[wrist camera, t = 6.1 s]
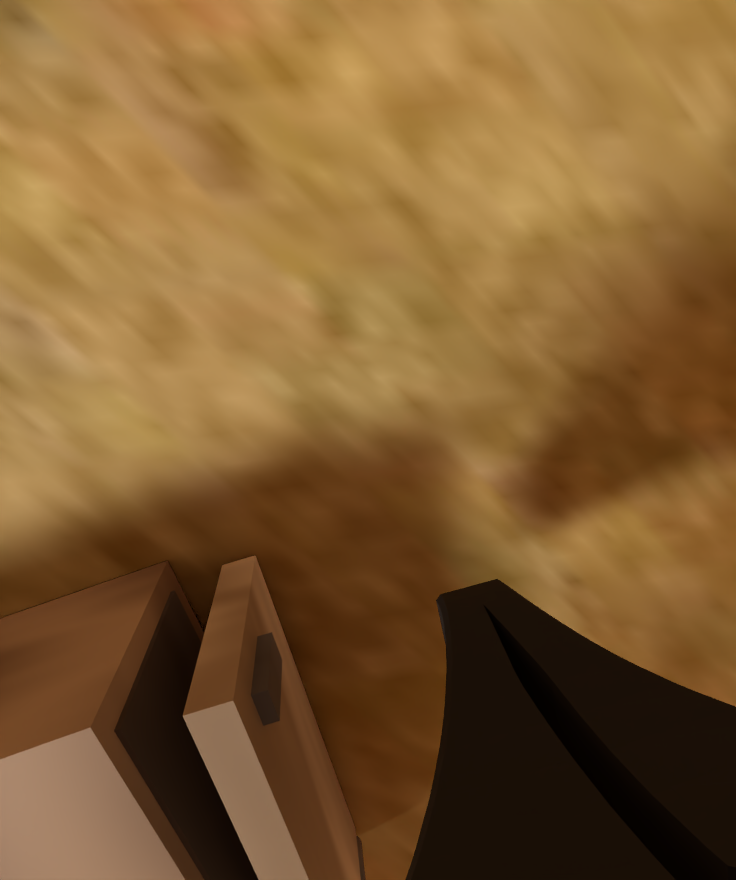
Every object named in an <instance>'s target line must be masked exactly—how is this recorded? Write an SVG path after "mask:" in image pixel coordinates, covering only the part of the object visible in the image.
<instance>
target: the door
mask: <svg viewBox="0 0 736 880" xmlns="http://www.w3.org/2000/svg"><path fill="white" fill-rule="evenodd" d="M183 718H184V720H185V722H186V724H187V727H188V729H189V731H190V733H191V735H192V737H193V740H194V742H195V744H196V746H197V748H198V750H199V752H200V755H201V757H202V759H203V761H204V763H205V765H206V767H207V770H208V772H209V774H210V776H211V778H212V780H213V783H214V785H215V787H216V789H217V791H218V793H219V795H220V798H221V800H222V802H223V804H224V806H225V808H226V811H227V813H228V815H229V817H230V819H231V821H232V823H233V826H234V828H235V830H236V832H237V834H238V836H239V839H240V841H241V843H242V845H243V847H244V849H245V851H246V854H247V856H248V858H249V860H250V862H251V864H252V866H253V869H254V871H255V873H256V875H257V877H258V879H259V880H366V879H365V870H364V861H363V852H362V843H361V840H360V838H359V837H358V836H356V829H355V826H354V823H353V820H352V817H351V815H350V812H349V809H348V807H347V804H346V801H345V798H344V796H343V793H342V790H341V787H340V785H339V782H338V779H337V777H336V774H335V771H334V768H333V766H332V763H331V760H330V757H329V755H328V752H327V749H326V746H325V744H324V741H323V738H322V736H321V733H320V730H319V727H318V725H317V722H316V719H315V716H314V714H313V711H312V708H311V706H310V703H309V700H308V697H307V695H306V692H305V689H304V686H303V684H302V681H301V678H300V676H299V673H298V670H297V667H296V665H295V662H294V659H293V656H292V654H291V651H290V648H289V645H288V643H287V640H286V637H285V635H284V632H283V629H282V626H281V624H280V621H279V618H278V615H277V613H276V610H275V607H274V605H273V602H272V599H271V596H270V594H269V591H268V588H267V585H266V583H265V580H264V577H263V575H262V572H261V569H260V566H259V564H258V561H257V558H256V555H255V556H251V557H248V558H244V559H241V560H238V561H234V562H231V563H227V564H224V565H222V568H221V572H220V576H219V580H218V584H217V587H216V591H215V595H214V599H213V603H212V606H211V610H210V614H209V618H208V621H207V625H206V629H205V633H204V637H203V640H202V644H201V648H200V652H199V656H198V659H197V663H196V667H195V671H194V675H193V678H192V682H191V686H190V690H189V693H188V697H187V701H186V705H185V709H184V712H183Z"/></svg>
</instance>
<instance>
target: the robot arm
mask: <svg viewBox="0 0 736 880" xmlns="http://www.w3.org/2000/svg"><path fill="white" fill-rule="evenodd" d="M436 602H437V606H438V611H439V615H440V620H441V625H442V629H443V634H444V639H445V643H446V659H447V674H446V696H445V709H444V719H443V728H442V735H441V742H440V748H439V754H438V759H437V765H436V770H435V775H434V780H433V785H432V790H431V794H430V798H429V802H428V806H427V810H426V813H425V817H424V821H423V824H422V828H421V832H420V835H419V839H418V843H417V846H416V850H415V853H414V856H413V859H412V863H411V866H410V868H409V871H408V874H407V877H406V880H736V707H735V706H732V705H730V704H727V703H724V702H722V701H719V700H716V699H714V698H711V697H708V696H706V695H703V694H701V693H698V692H695V691H693V690H691V689H688V688H686V687H683V686H681V685H679V684H676V683H674V682H671V681H669V680H667V679H665V678H663V677H661V676H658V675H656V674H654V673H652V672H650V671H648V670H646V669H643V668H641V667H639V666H637V665H635V664H633V663H631V662H629V661H627V660H625V659H623V658H621V657H619V656H617V655H615V654H613V653H612V652H610V651H608V650H606V649H604V648H603V647H601V646H599V645H597V644H595V643H594V642H592V641H590V640H589V639H587V638H585V637H584V636H582V635H580V634H579V633H577V632H575V631H574V630H572V629H571V628H569V627H568V626H566V625H564V624H563V623H561V622H560V621H558V620H556V619H555V618H553V617H552V616H550V615H549V614H547V613H546V612H544V611H543V610H541V609H540V608H538V607H537V606H535V605H534V604H533V603H531V602H530V601H528V600H527V599H525V598H524V597H523V596H521V595H520V594H518V593H517V592H516V591H514V590H513V589H511V588H510V587H509V586H507V585H506V584H504V583H503V582H501V581H500V580H498V579H495V580H492V581H488V582H484V583H481V584H477V585H473V586H470V587H466V588H462V589H459V590H455V591H451V592H447V593H444V594H441V595H440V596H439V597H438V599H437V600H436Z"/></svg>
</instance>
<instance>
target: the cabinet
mask: <svg viewBox="0 0 736 880" xmlns="http://www.w3.org/2000/svg"><path fill="white" fill-rule="evenodd" d="M203 637H204V632H203V630H202V628H201V626H200V624H199V622H198V620H197V618H196V616H195V614H194V612H193V610H192V608H191V606H190V604H189V602H188V600H187V598H186V596H185V594H184V592H183V590H182V588H181V586H180V584H179V582H178V580H177V578H176V576H175V574H174V572H173V570H172V568H171V566H170V564H169V562H168V561H165V562H162V563H159V564H156V565H153V566H151V567H148V568H145V569H142V570H139V571H136V572H133V573H130V574H127V575H125V576H122V577H119V578H116V579H113V580H110V581H107V582H104V583H101V584H99V585H96V586H93V587H90V588H87V589H84V590H81V591H78V592H75V593H73V594H70V595H67V596H64V597H61V598H58V599H55V600H52V601H50V602H47V603H44V604H41V605H38V606H35V607H32V608H29V609H26V610H24V611H21V612H18V613H15V614H12V615H9V616H6V617H3V618H0V880H259V879H258V877H257V875H256V873H255V871H254V869H253V866H252V864H251V862H250V860H249V858H248V856H247V854H246V851H245V849H244V847H243V845H242V843H241V841H240V839H239V836H238V834H237V832H236V830H235V828H234V826H233V823H232V821H231V819H230V817H229V815H228V813H227V811H226V808H225V806H224V804H223V802H222V800H221V798H220V795H219V793H218V791H217V789H216V787H215V785H214V783H213V780H212V778H211V776H210V774H209V772H208V770H207V767H206V765H205V763H204V761H203V759H202V757H201V755H200V752H199V750H198V748H197V746H196V744H195V742H194V740H193V737H192V735H191V733H190V731H189V729H188V727H187V724H186V722H185V720H184V718H183V712H184V709H185V705H186V701H187V697H188V693H189V690H190V686H191V682H192V678H193V675H194V671H195V667H196V663H197V659H198V656H199V652H200V648H201V644H202V640H203Z"/></svg>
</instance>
